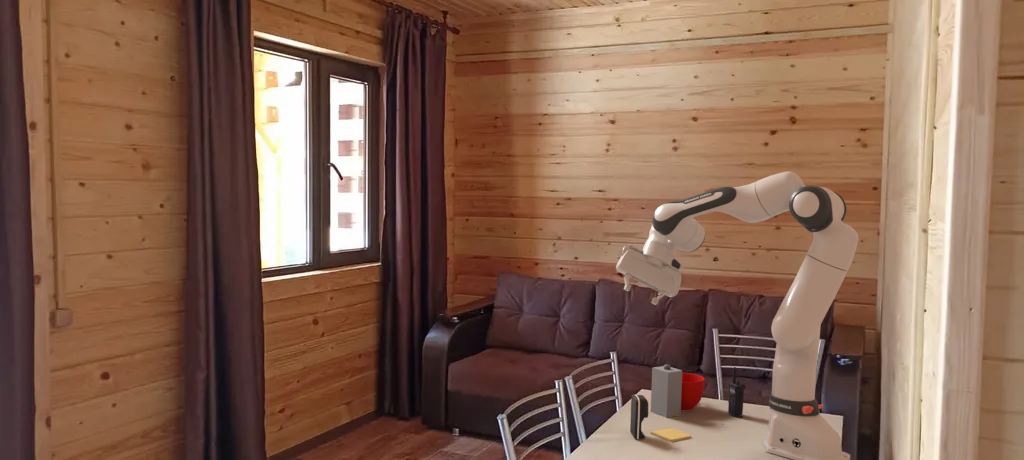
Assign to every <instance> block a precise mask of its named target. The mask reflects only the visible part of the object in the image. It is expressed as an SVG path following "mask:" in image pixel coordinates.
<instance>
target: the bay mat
mask: <svg viewBox="0 0 1024 460" xmlns="http://www.w3.org/2000/svg"><path fill="white" fill-rule="evenodd" d="M650 435H652V436H655V437H657V438H660V439H662V440H665V441H668V442H670V443H672V442H677V441H682V440H686V439H692V435H691V434H688V433H686V432H683V431H682V430H678V429H675V428H674V427H669V428H663V429H658V430H653V431H650Z"/></svg>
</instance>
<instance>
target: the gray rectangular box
mask: <svg viewBox="0 0 1024 460" xmlns="http://www.w3.org/2000/svg"><path fill="white" fill-rule="evenodd" d="M651 369H652V370H651V390H650V391H651V393H650V412H651V413H653V414H656V415H659V416H662V417H663V418H671V416H672V417H675V416H677V417H678V416H681V412H682V410H681V390H682V373H683V370H682V369H678V368H674V367H672V366H671V364H664V365H662V366H655V367H652V368H651Z"/></svg>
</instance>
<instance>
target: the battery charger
mask: <svg viewBox="0 0 1024 460" xmlns="http://www.w3.org/2000/svg"><path fill="white" fill-rule="evenodd" d="M630 403H631V404H630V430H629V431H630V433H631V435H632V437H633V439H635V440H644V439H645V438H646V435H645V434H644V432H643V431H642V423H643V421H644V420H645V419H647V418H649V400H648V399H647V398H646V396H644V395H643V394H632V395H631V399H630Z"/></svg>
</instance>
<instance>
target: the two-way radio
mask: <svg viewBox="0 0 1024 460" xmlns="http://www.w3.org/2000/svg"><path fill="white" fill-rule="evenodd" d="M732 368H733V371H732V379H731V380H732V382H730V383H729V385H728V408H727V409H728V411H727V413H728V414H730V415H731V416H733V417H735V418H739V417H742V416H743V413H744V412H743V410H744V398H745V396H744V395H745V393H744V392H745V389H746V384H744V383H741V382H740V380H738V379H737V367H736V366H734V367H732Z"/></svg>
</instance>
